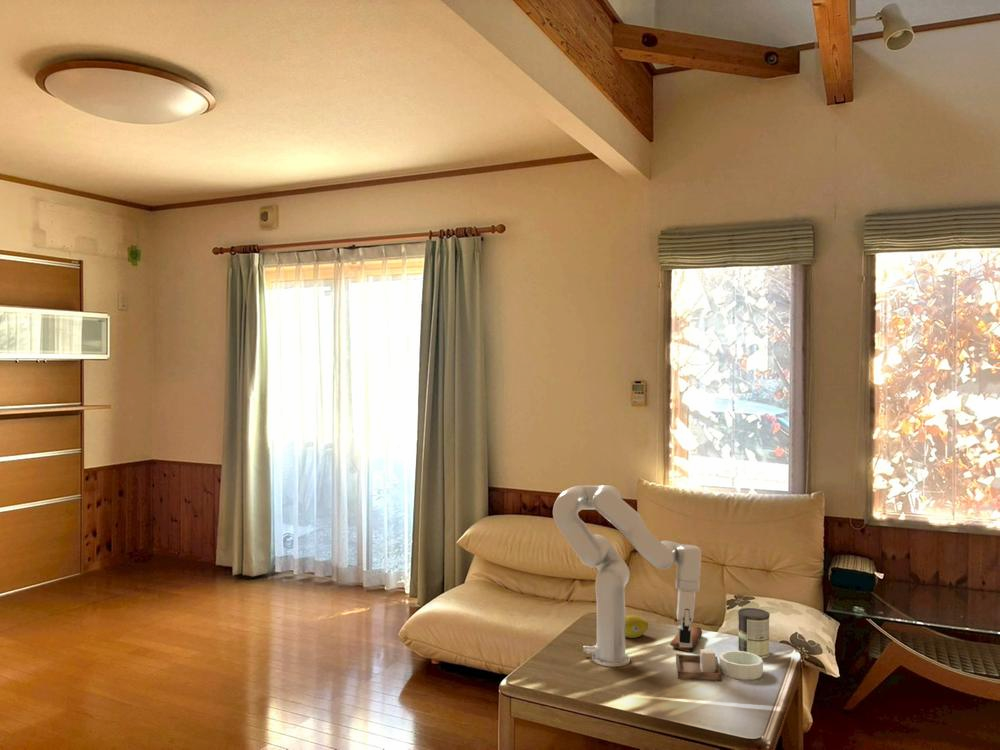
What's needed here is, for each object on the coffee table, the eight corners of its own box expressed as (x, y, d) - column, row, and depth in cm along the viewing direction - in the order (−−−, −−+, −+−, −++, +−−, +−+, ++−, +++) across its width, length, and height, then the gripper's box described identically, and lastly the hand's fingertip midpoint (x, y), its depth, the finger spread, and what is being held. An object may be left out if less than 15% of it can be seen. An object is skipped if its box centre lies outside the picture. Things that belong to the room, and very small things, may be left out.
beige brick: (702, 672, 241) (702, 653, 241) (700, 667, 245) (700, 649, 245) (715, 672, 241) (715, 653, 241) (712, 668, 244) (712, 649, 245)
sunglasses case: (678, 629, 279) (689, 617, 277) (693, 643, 277) (705, 631, 275) (668, 644, 262) (680, 631, 261) (684, 659, 260) (696, 646, 259)
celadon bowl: (722, 678, 237) (722, 663, 237) (718, 663, 250) (718, 649, 250) (765, 681, 235) (765, 666, 235) (759, 666, 247) (759, 652, 248)
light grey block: (679, 647, 243) (678, 628, 243) (679, 643, 246) (678, 625, 247) (692, 647, 242) (691, 628, 242) (691, 643, 246) (690, 625, 246)
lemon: (617, 640, 272) (617, 618, 272) (618, 633, 280) (618, 611, 280) (648, 642, 270) (648, 620, 270) (648, 635, 278) (648, 613, 278)
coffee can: (732, 653, 259) (732, 612, 259) (746, 646, 267) (746, 606, 267) (761, 661, 252) (761, 618, 252) (774, 653, 259) (774, 612, 259)
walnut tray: (678, 678, 237) (678, 671, 237) (675, 660, 252) (675, 653, 252) (721, 681, 234) (721, 674, 234) (716, 663, 250) (716, 656, 250)
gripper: (674, 576, 253) (671, 630, 253) (676, 589, 237) (673, 647, 237) (697, 578, 252) (694, 633, 252) (701, 592, 236) (698, 650, 236)
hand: (684, 639), depth 244 cm, fingers closed on light grey block, 3 cm apart
